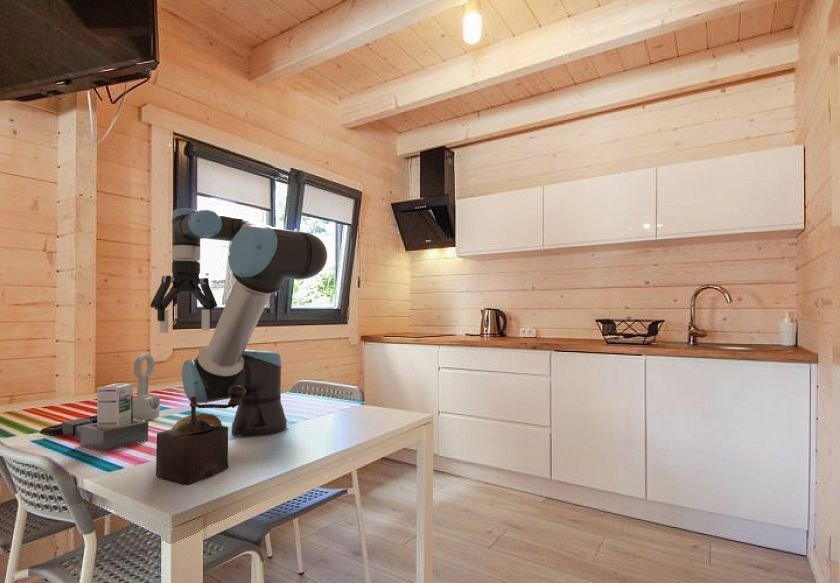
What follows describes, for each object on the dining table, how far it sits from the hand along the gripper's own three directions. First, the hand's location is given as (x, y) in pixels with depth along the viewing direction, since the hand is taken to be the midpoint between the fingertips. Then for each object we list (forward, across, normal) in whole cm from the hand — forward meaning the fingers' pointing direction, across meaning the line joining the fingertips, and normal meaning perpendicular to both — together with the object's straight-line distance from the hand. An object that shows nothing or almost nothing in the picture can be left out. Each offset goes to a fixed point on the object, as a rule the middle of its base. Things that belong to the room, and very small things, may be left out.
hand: (185, 331), depth 134 cm
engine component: (+28, -2, -23) cm, 37 cm away
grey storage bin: (+28, +18, -12) cm, 35 cm away
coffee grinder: (+29, +20, +35) cm, 50 cm away
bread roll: (+29, +10, +18) cm, 35 cm away
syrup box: (+28, +18, -3) cm, 33 cm away
